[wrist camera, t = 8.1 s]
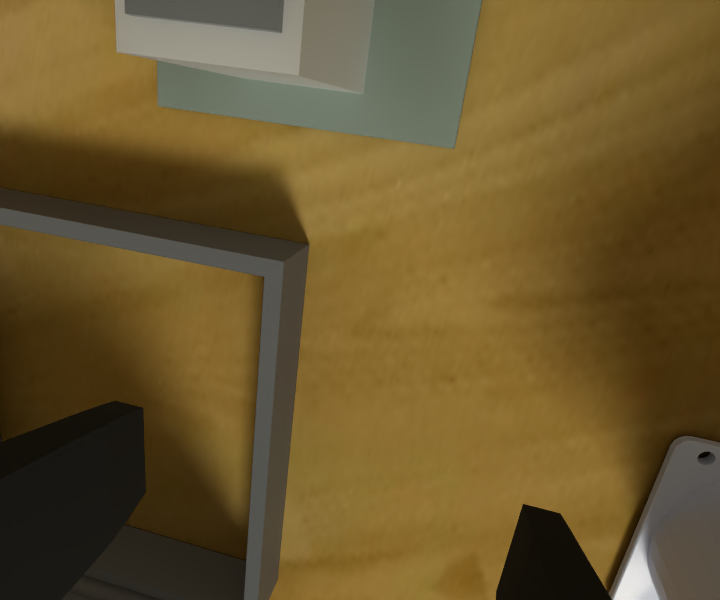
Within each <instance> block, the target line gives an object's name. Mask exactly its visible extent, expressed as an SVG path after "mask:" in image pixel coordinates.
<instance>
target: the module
mask: <svg viewBox="0 0 720 600" xmlns="http://www.w3.org/2000/svg"><path fill="white" fill-rule="evenodd" d="M374 2H375V0H115V19H116V45H117V52H119V53H124V54H129V55H134V56H139V57H143V58H148V59H153V60H158V61H162V62H167V63H172V64H177V65H182V66H186V67H191V68H196V69H201V70H206V71H210V72H215V73H220V74H225V75H229V76H234V77H239V78H245V79H252V80H260V81H268V82H275V83H283V84H290V85H298V86H305V87H313V88H320V89H328V90H335V91H343V92H351V93H358V94H363V93H364V84H365V76H366V68H367V60H368V52H369V43H370V35H371V27H372V19H373V11H374Z"/></svg>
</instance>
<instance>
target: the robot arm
mask: <svg viewBox="0 0 720 600" xmlns="http://www.w3.org/2000/svg"><path fill="white" fill-rule="evenodd" d="M703 452H710V454H709V455H708V456H707V457H704V458H698V456H699V454H700V453H703ZM145 493H146V489H145V454H144V420H143V408H142V407H138V406H134V405H130V404H126V403H122V402H118V401H113V402H110V403H107V404H103V405H100V406H97V407H94V408H91V409H89V410H86V411H83V412H80V413H78V414H75V415H72V416H70V417H67V418H64V419H62V420H59V421H56V422H54V423H51V424H48V425H46V426H43V427H41V428H38V429H35V430H33V431H30V432H27V433H25V434H22V435H19V436H17V437H14V438H11V439H9V440H6V441H4V442H1V443H0V600H62V599H63V597H64V596H65V595H66V594H67V593H68V592H69V591H70V589H71V588H72V587H73V586H74V585H75V584H76V583H77V582H78V580H79V579H80V578H81V577H82V576H83V575H84V573H85V572H86V571H87V570H88V569H89V568H90V567H91V565H92V564H93V563H94V562H95V561H96V560H97V558H98V557H99V556H100V555H101V554H102V553H103V551H104V550H105V549H106V548H107V547H108V546H109V544H110V543H111V542H112V541H113V539H114V538H115V537H116V535H117V534H118V532H119V531H120V530H121V528H122V527H123V525H124V524H125V523H126V521H127V520H128V518H129V517H130V515H131V514H132V512H133V511H134V509H135V508H136V506H137V505H138V503H139V502H140V500H141V499H142V497H143V496H144V494H145ZM496 600H720V442H715V441H711V440H706V439H702V438H697V437H693V436H682V437H679V438H677V439H675V440H674V441H673V442H672V444H671V445H670V447H669V450H668V452H667V455H666V457H665V459H664V462H663V464H662V467H661V469H660V472H659V474H658V476H657V479H656V481H655V484H654V486H653V488H652V491H651V493H650V496H649V498H648V500H647V503H646V505H645V508H644V510H643V512H642V515H641V517H640V520H639V522H638V524H637V527H636V529H635V532H634V534H633V537H632V539H631V541H630V544H629V546H628V549H627V551H626V553H625V556H624V558H623V561H622V563H621V565H620V568H619V570H618V573H617V575H616V577H615V580H614V582H613V585H612V587H611V589H610V592H609V594H608V592H607V591H606V589H605V587H604V586H603V584H602V582H601V581H600V579H599V577H598V576H597V574H596V572H595V571H594V569H593V567H592V566H591V564H590V562H589V561H588V559H587V557H586V556H585V554H584V552H583V550H582V549H581V547H580V545H579V544H578V542H577V540H576V539H575V537H574V535H573V533H572V532H571V530H570V528H569V527H568V525H567V523H566V522H565V520H564V519H563V517H562V515H561V514H560V513H556V512H553V511H549V510H545V509H541V508H537V507H533V506H529V505H525V504H523V506H522V509H521V513H520V516H519V519H518V523H517V526H516V529H515V532H514V536H513V539H512V542H511V545H510V549H509V552H508V555H507V558H506V562H505V565H504V568H503V572H502V575H501V578H500V581H499V585H498V588H497V591H496Z"/></svg>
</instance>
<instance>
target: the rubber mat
mask: <svg viewBox="0 0 720 600" xmlns="http://www.w3.org/2000/svg"><path fill="white" fill-rule="evenodd" d="M481 4H482V0H375V2H374V11H373V19H372V27H371V35H370V43H369V52H368V60H367V68H366V76H365V84H364V93H363V94H358V93H351V92H343V91H335V90H328V89H320V88H313V87H305V86H298V85H290V84H283V83H275V82H268V81H260V80H252V79H245V78H239V77H234V76H229V75H225V74H220V73H215V72H210V71H206V70H201V69H196V68H191V67H186V66H182V65H177V64H172V63H167V62H162V61H158V60H157V79H158V106H161V107H168V108H175V109H182V110H189V111H196V112H203V113H210V114H217V115H224V116H231V117H238V118H245V119H251V120H258V121H265V122H272V123H279V124H286V125H293V126H300V127H307V128H314V129H321V130H328V131H335V132H342V133H348V134H355V135H362V136H369V137H376V138H383V139H390V140H397V141H404V142H411V143H418V144H425V145H432V146H439V147H445V148H452V149H454V148H455V144H456V138H457V133H458V127H459V122H460V117H461V111H462V106H463V101H464V95H465V90H466V85H467V79H468V74H469V68H470V63H471V58H472V52H473V47H474V42H475V36H476V31H477V25H478V20H479V15H480V9H481Z"/></svg>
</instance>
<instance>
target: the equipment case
mask: <svg viewBox="0 0 720 600" xmlns="http://www.w3.org/2000/svg"><path fill="white" fill-rule="evenodd" d="M0 225H5V226H10V227H15V228H20V229H25V230H30V231H36V232H41V233H46V234H51V235H56V236H61V237H66V238H71V239H76V240H81V241H86V242H91V243H96V244H101V245H106V246H111V247H117V248H122V249H127V250H132V251H137V252H142V253H147V254H152V255H157V256H162V257H167V258H172V259H177V260H182V261H187V262H192V263H197V264H203V265H208V266H213V267H218V268H223V269H228V270H233V271H238V272H243V273H248V274H253V275H258V276H263V277H264V291H263V307H262V323H261V339H260V354H259V370H258V386H257V402H256V417H255V433H254V449H253V465H252V481H251V496H250V512H249V528H248V544H247V559H246V561H244V560H241V559H238V558H234V557H231V556H228V555H224V554H221V553H218V552H214V551H211V550H207V549H204V548H201V547H197V546H194V545H191V544H187V543H184V542H180V541H177V540H174V539H170V538H167V537H164V536H160V535H157V534H154V533H150V532H147V531H143V530H140V529H137V528H133V527H130V526H127V525H123V527H122V528H121V530H120V531H119V532H118V534H117V535H116V537H115V538H114V539H113V541H112V542H111V543H110V544H109V546H108V547H107V548H106V549H105V550H104V551H103V553H102V554H101V555H100V556H99V557H98V558H97V560H96V561H95V562H94V563H93V564H92V565H91V567H90V568H89V569H88V570H87V571H86V572H85V573H84V575H83V576H82V577H81V578H80V579H79V580H78V582H77V583H76V584H75V585H74V586H73V587H72V588H71V589H70V591H69V592H68V593H67V594H66V595H65V596H64V597H63V599H62V600H269V598H270V596H271V594H272V591H273V589H274V587H275V585H276V582H277V580H278V569H279V559H280V548H281V538H282V527H283V516H284V506H285V495H286V485H287V474H288V463H289V453H290V442H291V431H292V421H293V410H294V400H295V389H296V378H297V368H298V357H299V347H300V336H301V325H302V315H303V304H304V294H305V283H306V272H307V262H308V251H309V244H304V243H299V242H293V241H288V240H282V239H277V238H272V237H266V236H261V235H255V234H250V233H244V232H239V231H233V230H228V229H223V228H217V227H212V226H206V225H201V224H195V223H190V222H185V221H179V220H174V219H168V218H163V217H157V216H152V215H146V214H141V213H136V212H130V211H125V210H119V209H114V208H108V207H103V206H97V205H92V204H87V203H81V202H76V201H70V200H65V199H59V198H54V197H48V196H43V195H38V194H32V193H27V192H21V191H16V190H10V189H5V188H0ZM0 443H1V437H0Z"/></svg>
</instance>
